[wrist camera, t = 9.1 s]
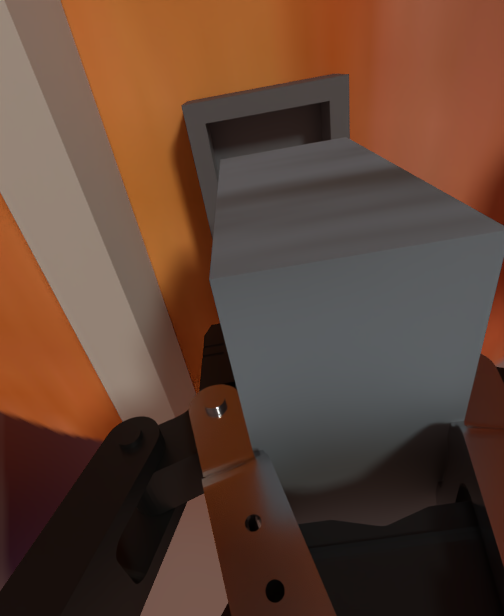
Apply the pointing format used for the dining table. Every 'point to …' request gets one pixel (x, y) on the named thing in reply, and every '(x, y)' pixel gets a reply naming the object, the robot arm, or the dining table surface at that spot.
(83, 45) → the dining table surface
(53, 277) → the door board
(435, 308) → the block
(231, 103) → the cradle
